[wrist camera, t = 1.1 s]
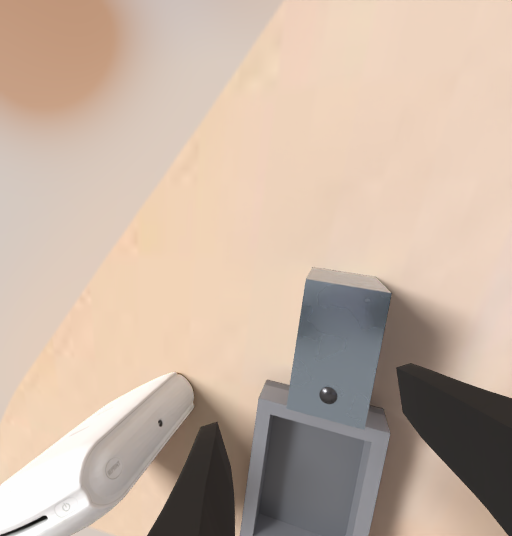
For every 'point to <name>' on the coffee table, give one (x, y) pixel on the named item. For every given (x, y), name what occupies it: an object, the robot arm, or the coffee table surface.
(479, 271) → the coffee table surface
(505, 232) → the coffee table surface
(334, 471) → the lock cradle
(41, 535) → the photo printer
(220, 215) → the coffee table surface
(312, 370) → the block
